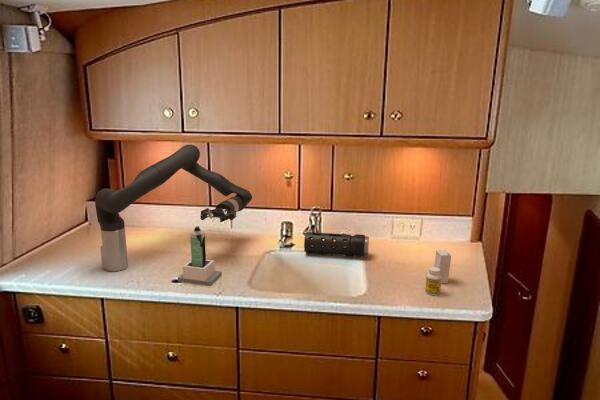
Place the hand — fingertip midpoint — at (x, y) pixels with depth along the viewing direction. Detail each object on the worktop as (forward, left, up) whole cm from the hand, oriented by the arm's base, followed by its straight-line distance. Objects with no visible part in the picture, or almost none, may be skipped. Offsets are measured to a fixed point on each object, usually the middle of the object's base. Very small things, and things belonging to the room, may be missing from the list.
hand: (211, 218), depth 201 cm
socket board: (0, -12, -21) cm, 24 cm away
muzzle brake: (+47, +28, -21) cm, 59 cm away
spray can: (0, -12, -20) cm, 23 cm away
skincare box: (+92, +13, -21) cm, 95 cm away
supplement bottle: (+89, +1, -21) cm, 91 cm away
